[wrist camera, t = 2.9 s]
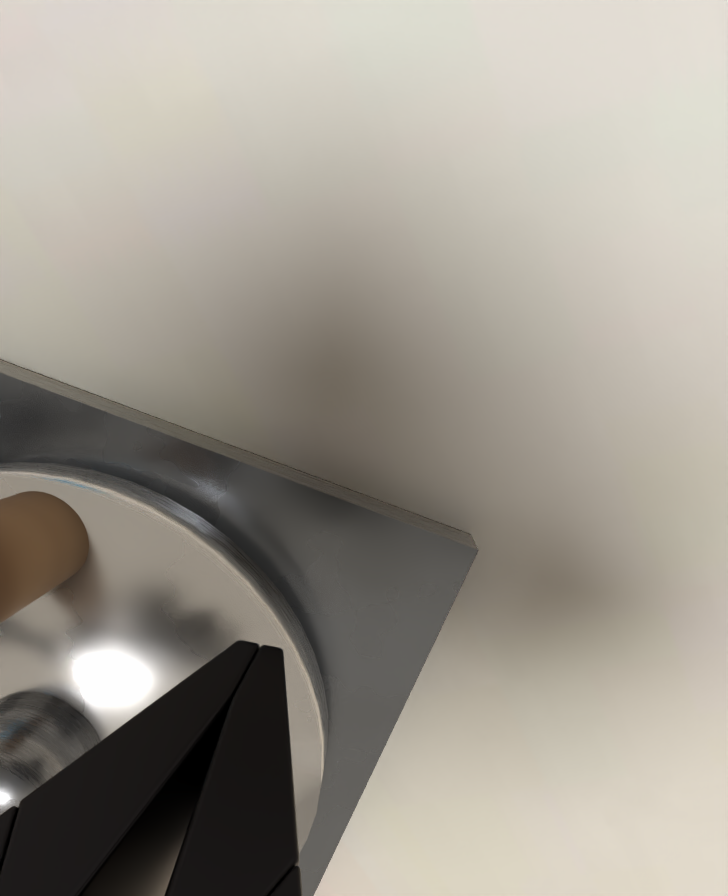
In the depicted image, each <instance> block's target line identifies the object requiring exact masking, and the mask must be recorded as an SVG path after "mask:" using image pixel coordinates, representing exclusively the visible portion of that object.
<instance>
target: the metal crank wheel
mask: <svg viewBox="0 0 728 896" xmlns="http://www.w3.org/2000/svg"><path fill="white" fill-rule="evenodd" d="M238 640H244V641H249V642H254V643H258V644H259V645H260V647H261V646H262V645H269V646H274V647H279V648H282V649H283V652H284V665H285V678H286V691H287V704H288V717H289V730H290V742H291V755H292V768H293V781H294V794H295V807H296V820H297V833H298V846H299V853H300V851H301V849H302V848H303V846H304V844H305V842H306V840H307V838H308V835H309V832H310V830H311V827H312V824H313V821H314V818H315V815H316V812H317V806H318V800H319V794H320V788H321V782H322V776H323V770H324V763H325V757H326V751H327V744H328V710H327V703H326V696H325V689H324V683H323V680H322V677H321V673H320V670H319V667H318V663H317V660H316V657H315V654H314V651H313V649H312V647H311V645H310V643H309V641H308V638H307V636H306V634H305V632H304V630H303V628H302V625H301V623H300V622H299V620H298V619H297V617H296V615H295V614H294V612H293V611H292V609H291V607H290V606H289V604H288V603H287V601H286V600H285V598H284V596H283V595H282V593H281V592H280V591H279V590H278V589H277V587H276V586H275V585H274V584H273V582H272V581H271V580H270V579H269V578H268V576H267V575H266V574H265V573H264V572H263V570H262V569H261V568H260V567H259V566H258V565H257V564H256V563H255V562H254V561H253V560H252V559H251V558H250V557H249V556H248V555H247V554H246V553H245V552H244V551H243V550H242V549H241V548H240V547H239V546H237V545H236V544H235V543H234V542H233V541H232V540H231V539H230V538H228V537H227V536H226V535H224V534H223V533H222V532H220V531H219V530H218V529H216V528H215V527H214V526H212V525H211V524H210V523H208V522H207V521H206V520H204V519H203V518H202V517H200V516H199V515H197V514H195V513H194V512H192V511H190V510H188V509H187V508H185V507H183V506H182V505H180V504H178V503H176V502H175V501H173V500H171V499H170V498H168V497H166V496H164V495H161V494H159V493H157V492H154V491H152V490H150V489H148V488H145V487H143V486H141V485H138V484H136V483H134V482H132V481H128V480H125V479H122V478H118V477H115V476H112V475H108V474H105V473H102V472H99V471H95V470H90V469H84V468H79V467H73V466H67V465H61V464H51V463H27V462H17V463H6V464H0V815H1V814H2V813H4V812H5V811H6V810H8V809H9V808H10V807H12V806H17V807H18V806H19V803H20V801H21V800H22V799H23V798H24V797H26V796H27V795H28V794H30V793H31V792H33V791H34V790H35V789H37V788H38V787H39V786H41V785H42V784H43V783H45V782H46V781H47V780H49V779H50V778H52V777H53V776H54V775H56V774H57V773H58V772H60V771H61V770H62V769H64V768H65V767H66V766H68V765H69V764H70V763H72V762H73V761H75V760H76V759H77V758H79V757H80V756H81V755H83V754H84V753H85V752H87V751H88V750H89V749H91V748H92V747H93V746H95V745H96V744H98V743H99V742H100V741H102V740H103V739H104V738H106V737H107V736H108V735H110V734H111V733H112V732H114V731H115V730H116V729H118V728H119V727H121V726H122V725H123V724H125V723H126V722H127V721H129V720H130V719H131V718H133V717H134V716H135V715H137V714H138V713H139V712H141V711H142V710H144V709H145V708H146V707H148V706H149V705H150V704H152V703H153V702H154V701H156V700H157V699H158V698H160V697H161V696H163V695H164V694H165V693H167V692H168V691H169V690H171V689H172V688H173V687H175V686H176V685H177V684H179V683H180V682H181V681H183V680H184V679H186V678H187V677H188V676H190V675H191V674H192V673H194V672H195V671H196V670H198V669H199V668H200V667H202V666H203V665H204V664H206V663H207V662H209V661H210V660H211V659H213V658H214V657H215V656H217V655H218V654H219V653H221V652H222V651H223V650H225V649H226V648H227V647H229V646H230V645H232V644H233V643H234V642H236V641H238Z"/></svg>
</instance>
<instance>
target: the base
mask: <svg viewBox="0 0 728 896" xmlns="http://www.w3.org/2000/svg"><path fill="white" fill-rule="evenodd" d="M17 462H27V463H51V464H61V465H67V466H73V467H79V468H84V469H90V470H95V471H99V472H102V473H105V474H108V475H112V476H115V477H118V478H122V479H125V480H128V481H132V482H134V483H136V484H138V485H141V486H143V487H145V488H148V489H150V490H152V491H154V492H157V493H159V494H161V495H164V496H166V497H168V498H170V499H171V500H173V501H175V502H176V503H178V504H180V505H182V506H183V507H185V508H187V509H188V510H190V511H192V512H194V513H195V514H197V515H199V516H200V517H202V518H203V519H204V520H206V521H207V522H208V523H210V524H211V525H212V526H214V527H215V528H216V529H218V530H219V531H220V532H222V533H223V534H224V535H226V536H227V537H228V538H230V539H231V540H232V541H233V542H234V543H235V544H236V545H237V546H239V547H240V548H241V549H242V550H243V551H244V552H245V553H246V554H247V555H248V556H249V557H250V558H251V559H252V560H253V561H254V562H255V563H256V564H257V565H258V566H259V567H260V568H261V569H262V570H263V572H264V573H265V574H266V575H267V576H268V578H269V579H270V580H271V581H272V582H273V584H274V585H275V586H276V587H277V589H278V590H279V591H280V592H281V593H282V595H283V596H284V598H285V600H286V601H287V603H288V604H289V606H290V607H291V609H292V611H293V612H294V614H295V615H296V617H297V619H298V620H299V622H300V623H301V625H302V628H303V630H304V632H305V634H306V636H307V638H308V641H309V643H310V645H311V647H312V649H313V651H314V654H315V657H316V660H317V663H318V667H319V670H320V673H321V677H322V680H323V683H324V689H325V696H326V703H327V710H328V744H327V751H326V757H325V763H324V770H323V776H322V782H321V788H320V794H319V800H318V806H317V812H316V815H315V818H314V821H313V824H312V827H311V830H310V832H309V835H308V838H307V840H306V842H305V844H304V846H303V848H302V849H301V851H300V853H299V859H300V860H299V867H300V869H301V881H302V894H303V896H314V893H315V891H316V889H317V887H318V885H319V883H320V881H321V879H322V877H323V875H324V873H325V870H326V868H327V866H328V864H329V862H330V860H331V858H332V856H333V854H334V852H335V849H336V847H337V845H338V843H339V841H340V839H341V837H342V835H343V833H344V831H345V829H346V826H347V824H348V822H349V820H350V818H351V816H352V814H353V812H354V810H355V808H356V806H357V803H358V801H359V799H360V797H361V795H362V793H363V791H364V789H365V787H366V785H367V782H368V780H369V778H370V776H371V774H372V772H373V770H374V768H375V766H376V764H377V762H378V759H379V757H380V755H381V753H382V751H383V749H384V747H385V745H386V743H387V741H388V738H389V736H390V734H391V732H392V730H393V728H394V726H395V724H396V722H397V720H398V718H399V715H400V713H401V711H402V709H403V707H404V705H405V703H406V701H407V699H408V697H409V695H410V692H411V690H412V688H413V686H414V684H415V682H416V680H417V678H418V676H419V674H420V671H421V669H422V667H423V665H424V663H425V661H426V659H427V657H428V655H429V653H430V651H431V648H432V646H433V644H434V642H435V640H436V638H437V636H438V634H439V632H440V630H441V628H442V625H443V623H444V621H445V619H446V617H447V615H448V613H449V611H450V609H451V607H452V604H453V602H454V600H455V598H456V596H457V594H458V592H459V590H460V588H461V586H462V584H463V581H464V579H465V577H466V575H467V573H468V571H469V569H470V567H471V565H472V563H473V560H474V558H475V556H476V554H477V552H478V548H477V546H476V544H475V542H474V540H473V538H472V536H471V534H468V533H465V532H462V531H460V530H457V529H454V528H452V527H449V526H446V525H444V524H441V523H438V522H436V521H433V520H430V519H428V518H425V517H422V516H419V515H417V514H414V513H411V512H409V511H406V510H403V509H401V508H398V507H395V506H393V505H390V504H387V503H384V502H382V501H379V500H376V499H374V498H371V497H368V496H366V495H363V494H360V493H358V492H355V491H352V490H350V489H347V488H344V487H341V486H339V485H336V484H333V483H331V482H328V481H325V480H323V479H320V478H317V477H315V476H312V475H309V474H306V473H304V472H301V471H298V470H296V469H293V468H290V467H288V466H285V465H282V464H280V463H277V462H274V461H272V460H269V459H266V458H263V457H261V456H258V455H255V454H253V453H250V452H247V451H245V450H242V449H239V448H237V447H234V446H231V445H228V444H226V443H223V442H220V441H218V440H215V439H212V438H210V437H207V436H204V435H202V434H199V433H196V432H194V431H191V430H188V429H185V428H183V427H180V426H177V425H175V424H172V423H169V422H167V421H164V420H161V419H159V418H156V417H153V416H150V415H148V414H145V413H142V412H140V411H137V410H134V409H132V408H129V407H126V406H124V405H121V404H118V403H116V402H113V401H110V400H107V399H105V398H102V397H99V396H97V395H94V394H91V393H89V392H86V391H83V390H81V389H78V388H75V387H72V386H70V385H67V384H64V383H62V382H59V381H56V380H54V379H51V378H48V377H46V376H43V375H40V374H37V373H35V372H32V371H29V370H27V369H24V368H21V367H19V366H16V365H13V364H11V363H8V362H5V361H3V360H0V464H6V463H17Z"/></svg>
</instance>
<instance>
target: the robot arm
mask: <svg viewBox="0 0 728 896" xmlns="http://www.w3.org/2000/svg"><path fill="white" fill-rule="evenodd" d="M299 860H300V859H299V846H298V833H297V820H296V807H295V794H294V781H293V768H292V755H291V742H290V730H289V717H288V704H287V691H286V678H285V665H284V652H283V649H282V648H279V647H274V646H269V645H262V646H261V647H260V645H259V644H258V643H254V642H249V641H244V640H238V641H236V642H234V643H233V644H232V645H230V646H229V647H227V648H226V649H225V650H223V651H222V652H221V653H219V654H218V655H217V656H215V657H214V658H213V659H211V660H210V661H209V662H207V663H206V664H204V665H203V666H202V667H200V668H199V669H198V670H196V671H195V672H194V673H192V674H191V675H190V676H188V677H187V678H186V679H184V680H183V681H181V682H180V683H179V684H177V685H176V686H175V687H173V688H172V689H171V690H169V691H168V692H167V693H165V694H164V695H163V696H161V697H160V698H158V699H157V700H156V701H154V702H153V703H152V704H150V705H149V706H148V707H146V708H145V709H144V710H142V711H141V712H139V713H138V714H137V715H135V716H134V717H133V718H131V719H130V720H129V721H127V722H126V723H125V724H123V725H122V726H121V727H119V728H118V729H116V730H115V731H114V732H112V733H111V734H110V735H108V736H107V737H106V738H104V739H103V740H102V741H100V742H99V743H98V744H96V745H95V746H93V747H92V748H91V749H89V750H88V751H87V752H85V753H84V754H83V755H81V756H80V757H79V758H77V759H76V760H75V761H73V762H72V763H70V764H69V765H68V766H66V767H65V768H64V769H62V770H61V771H60V772H58V773H57V774H56V775H54V776H53V777H52V778H50V779H49V780H47V781H46V782H45V783H43V784H42V785H41V786H39V787H38V788H37V789H35V790H34V791H33V792H31V793H30V794H28V795H27V796H26V797H24V798H23V799H22V800H21V801H20V803H19V806H18V807H17V806H12V807H10V808H9V809H8V810H6V811H5V812H4V813H2V814H1V815H0V896H303V894H302V881H301V869H300V867H299Z"/></svg>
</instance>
